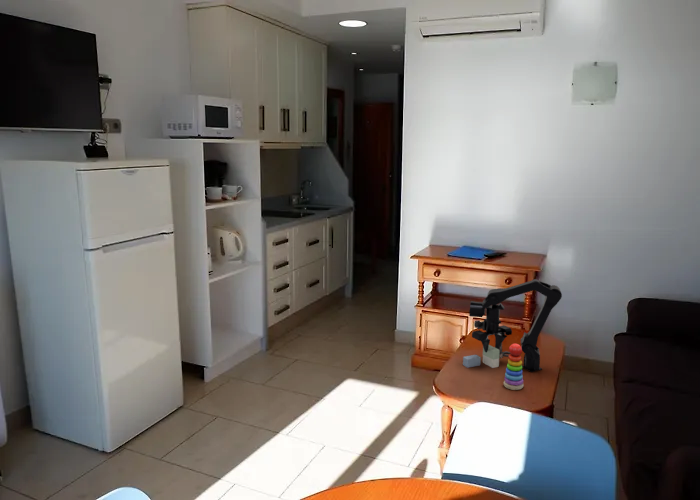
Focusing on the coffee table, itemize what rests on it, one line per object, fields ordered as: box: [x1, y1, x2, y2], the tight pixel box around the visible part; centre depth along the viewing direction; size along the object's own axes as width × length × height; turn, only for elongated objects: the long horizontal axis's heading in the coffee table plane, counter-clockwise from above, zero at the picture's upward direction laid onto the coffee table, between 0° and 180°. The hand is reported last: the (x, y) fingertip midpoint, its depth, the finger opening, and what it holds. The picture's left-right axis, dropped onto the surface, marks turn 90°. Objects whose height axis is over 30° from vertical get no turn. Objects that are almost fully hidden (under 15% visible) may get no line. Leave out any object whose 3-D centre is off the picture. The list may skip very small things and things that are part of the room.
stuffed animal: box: [499, 343, 510, 359], centre depth 260 cm, size 12×10×12 cm
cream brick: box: [482, 354, 500, 369], centre depth 246 cm, size 7×4×4 cm, turn 24°
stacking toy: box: [503, 343, 524, 391], centre depth 222 cm, size 8×8×19 cm
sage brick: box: [482, 344, 500, 360], centre depth 245 cm, size 7×4×4 cm, turn 27°
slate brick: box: [462, 354, 482, 368], centre depth 246 cm, size 7×4×4 cm, turn 112°
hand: (491, 350), depth 245 cm, fingers open, 6 cm apart
